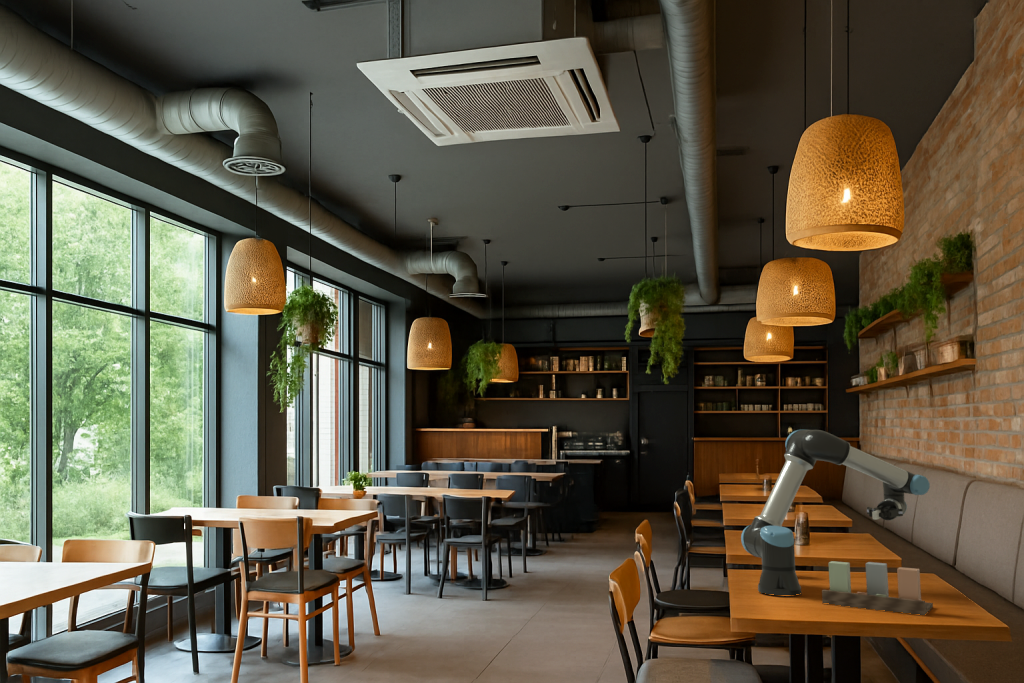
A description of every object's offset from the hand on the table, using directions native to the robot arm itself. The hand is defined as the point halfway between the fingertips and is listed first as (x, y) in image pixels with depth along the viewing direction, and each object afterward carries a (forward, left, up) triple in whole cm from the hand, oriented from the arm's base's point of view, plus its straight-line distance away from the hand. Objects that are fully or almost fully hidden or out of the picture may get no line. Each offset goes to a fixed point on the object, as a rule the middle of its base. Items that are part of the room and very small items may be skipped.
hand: (874, 515), depth 296 cm
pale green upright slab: (+2, -23, -26) cm, 35 cm away
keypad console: (+11, -17, -28) cm, 34 cm away
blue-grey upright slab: (+10, -15, -26) cm, 32 cm away
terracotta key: (+22, -15, -26) cm, 37 cm away
